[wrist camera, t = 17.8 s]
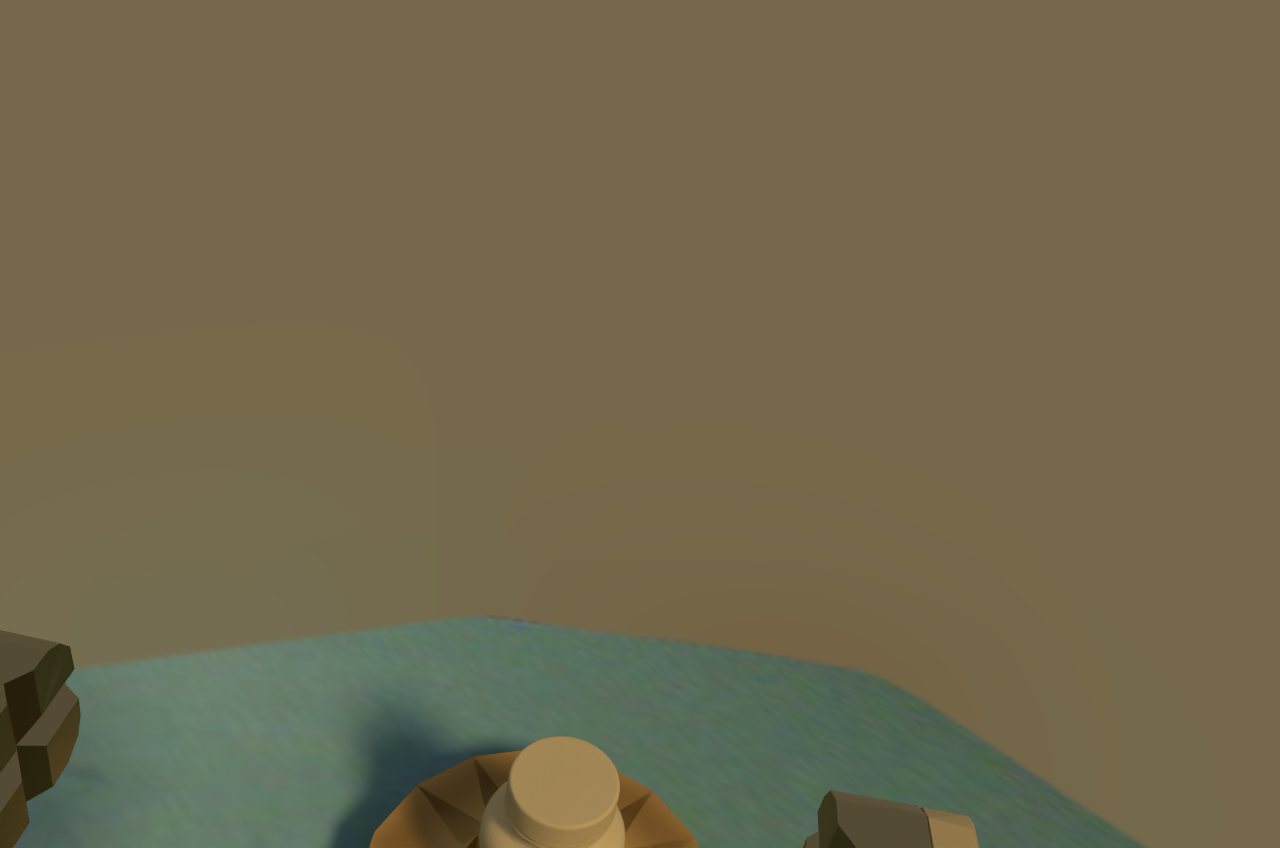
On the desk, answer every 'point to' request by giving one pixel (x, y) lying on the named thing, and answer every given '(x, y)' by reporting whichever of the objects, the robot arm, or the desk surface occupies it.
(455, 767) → the plain brown donut
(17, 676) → the robot arm
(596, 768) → the supplement bottle
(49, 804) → the desk surface
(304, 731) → the desk surface
